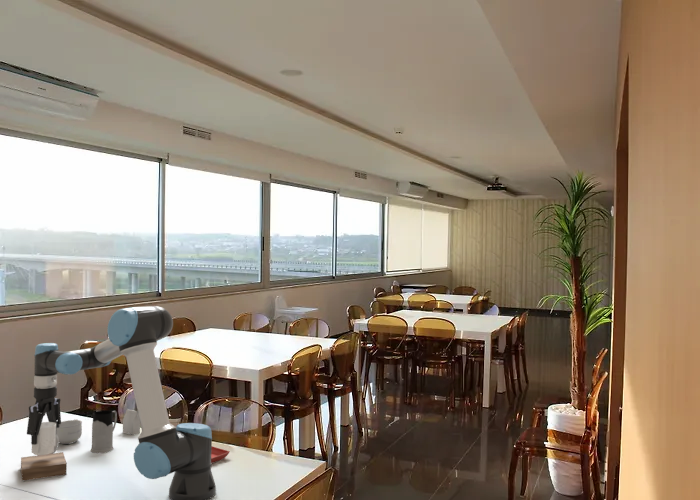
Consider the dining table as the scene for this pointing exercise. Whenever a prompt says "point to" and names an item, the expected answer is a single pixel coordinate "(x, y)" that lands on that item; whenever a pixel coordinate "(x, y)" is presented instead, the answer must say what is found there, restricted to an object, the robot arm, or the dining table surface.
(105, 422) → the gray pitcher
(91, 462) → the dining table surface
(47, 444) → the white cup
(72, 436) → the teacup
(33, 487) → the dining table surface
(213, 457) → the plant saucer
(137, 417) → the tea bag
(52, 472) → the walnut base
